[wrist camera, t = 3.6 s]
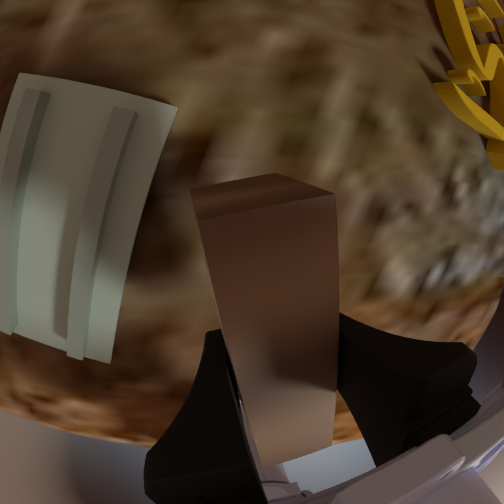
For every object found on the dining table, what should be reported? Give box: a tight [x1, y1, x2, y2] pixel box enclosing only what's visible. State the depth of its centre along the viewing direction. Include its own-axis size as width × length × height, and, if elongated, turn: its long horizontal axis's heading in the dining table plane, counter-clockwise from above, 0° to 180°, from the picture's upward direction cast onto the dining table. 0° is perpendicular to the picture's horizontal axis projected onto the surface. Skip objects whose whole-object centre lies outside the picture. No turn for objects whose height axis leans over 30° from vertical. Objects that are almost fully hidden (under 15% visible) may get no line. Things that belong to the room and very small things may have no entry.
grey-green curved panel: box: [0, 73, 178, 364], centre depth 15 cm, size 18×11×2 cm, turn 158°
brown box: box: [190, 173, 339, 468], centre depth 12 cm, size 12×4×5 cm, turn 8°
